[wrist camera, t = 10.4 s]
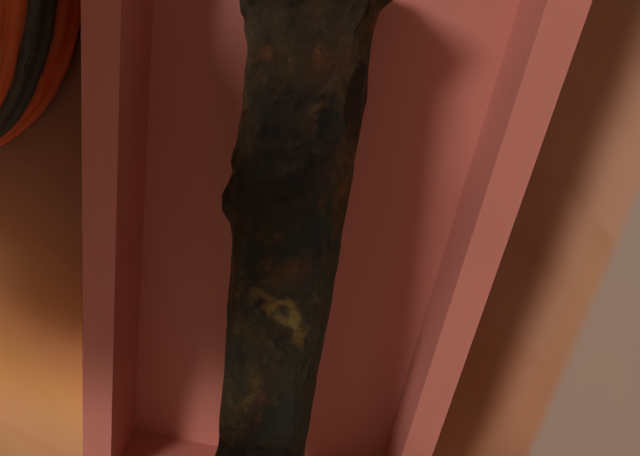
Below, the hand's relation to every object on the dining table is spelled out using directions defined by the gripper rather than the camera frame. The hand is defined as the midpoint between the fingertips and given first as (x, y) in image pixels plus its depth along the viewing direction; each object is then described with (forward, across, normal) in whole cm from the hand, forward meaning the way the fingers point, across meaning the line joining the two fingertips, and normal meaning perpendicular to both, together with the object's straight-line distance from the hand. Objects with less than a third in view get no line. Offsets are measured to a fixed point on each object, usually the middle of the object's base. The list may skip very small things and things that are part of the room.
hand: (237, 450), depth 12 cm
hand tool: (+8, +1, -1) cm, 8 cm away
